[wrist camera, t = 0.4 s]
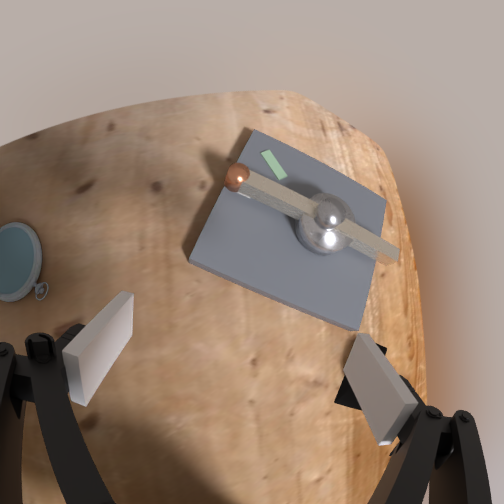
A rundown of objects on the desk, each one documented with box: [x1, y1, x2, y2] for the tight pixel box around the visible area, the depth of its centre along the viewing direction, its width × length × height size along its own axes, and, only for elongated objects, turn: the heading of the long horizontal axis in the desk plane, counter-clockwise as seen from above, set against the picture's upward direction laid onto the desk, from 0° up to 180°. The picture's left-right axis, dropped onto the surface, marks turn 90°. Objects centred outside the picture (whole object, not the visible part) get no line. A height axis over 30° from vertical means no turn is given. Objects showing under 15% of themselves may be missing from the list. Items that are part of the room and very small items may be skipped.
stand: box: [189, 129, 386, 331], centre depth 37 cm, size 20×22×2 cm
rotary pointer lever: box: [224, 163, 400, 266], centre depth 33 cm, size 7×23×5 cm, turn 68°
